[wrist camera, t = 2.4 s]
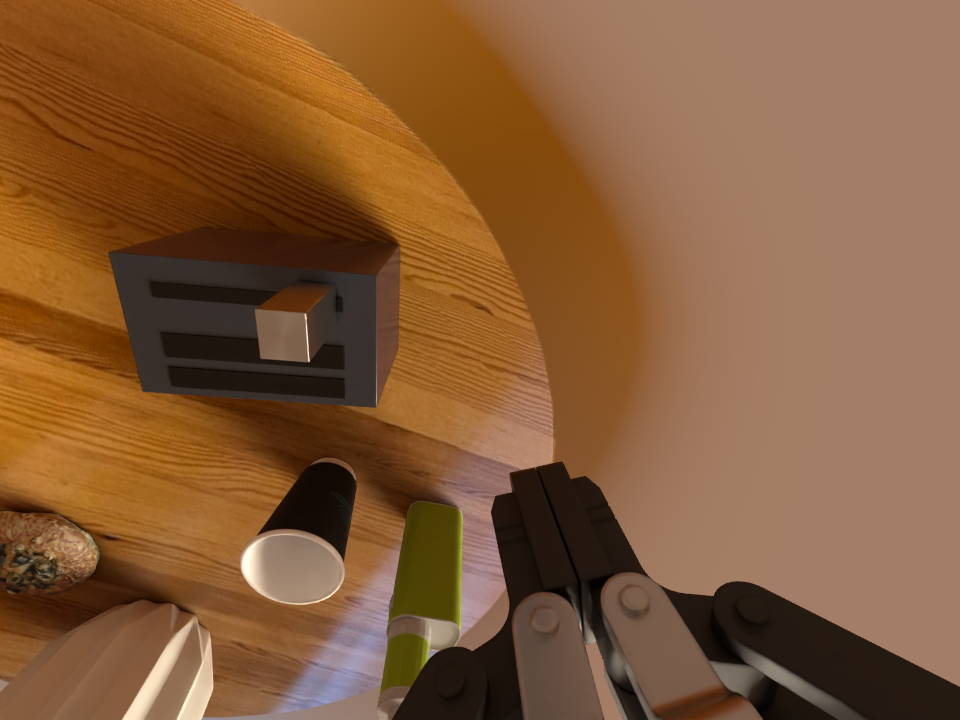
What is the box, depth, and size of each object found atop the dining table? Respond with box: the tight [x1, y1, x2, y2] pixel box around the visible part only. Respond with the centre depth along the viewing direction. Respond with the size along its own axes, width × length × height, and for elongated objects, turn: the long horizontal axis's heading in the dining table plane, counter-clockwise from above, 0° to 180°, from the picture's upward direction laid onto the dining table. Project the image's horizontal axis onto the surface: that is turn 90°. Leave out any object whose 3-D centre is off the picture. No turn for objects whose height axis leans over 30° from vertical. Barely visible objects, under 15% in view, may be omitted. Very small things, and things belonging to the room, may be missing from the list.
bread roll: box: [0, 511, 100, 596], centre depth 45 cm, size 11×11×5 cm
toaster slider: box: [255, 282, 337, 362], centre depth 24 cm, size 2×3×5 cm
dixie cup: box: [240, 458, 357, 604], centre depth 39 cm, size 8×8×11 cm
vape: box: [377, 501, 463, 720], centre depth 38 cm, size 4×6×20 cm, turn 76°
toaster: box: [108, 227, 400, 408], centre depth 32 cm, size 15×9×10 cm, turn 85°
